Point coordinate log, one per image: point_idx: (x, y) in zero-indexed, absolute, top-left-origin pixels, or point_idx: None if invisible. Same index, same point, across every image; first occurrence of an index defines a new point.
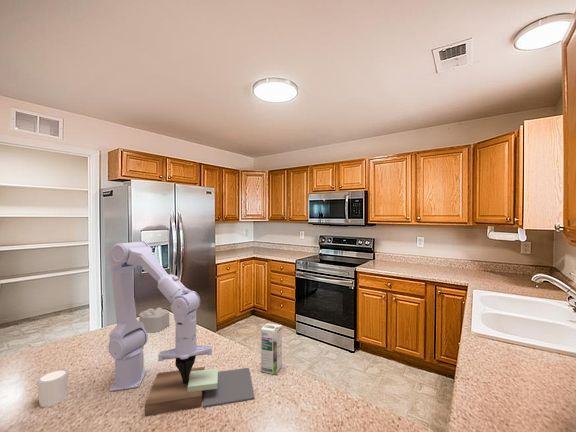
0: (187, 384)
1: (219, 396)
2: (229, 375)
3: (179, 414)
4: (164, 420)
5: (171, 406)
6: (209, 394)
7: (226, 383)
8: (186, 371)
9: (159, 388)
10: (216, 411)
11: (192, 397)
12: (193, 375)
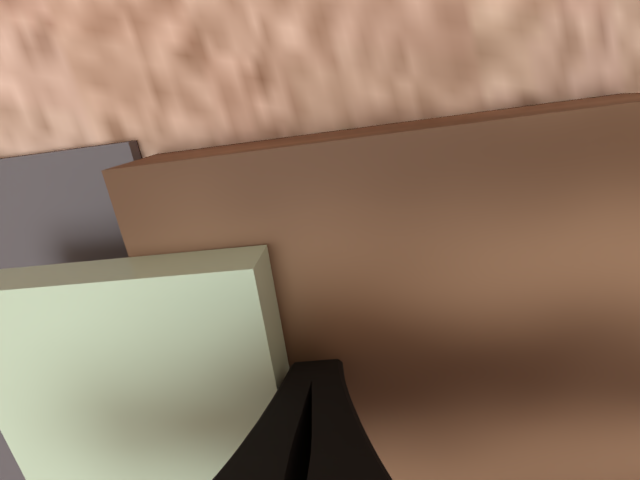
0: None
1: (33, 247)
2: None
3: (314, 80)
4: (430, 11)
5: (400, 125)
6: None
7: None
8: (276, 472)
9: (579, 350)
10: (4, 78)
11: (189, 157)
12: None
